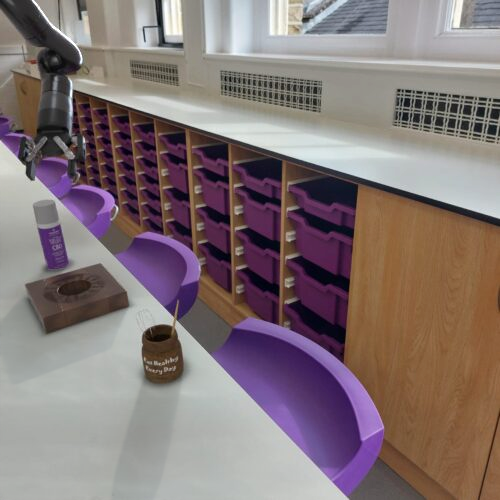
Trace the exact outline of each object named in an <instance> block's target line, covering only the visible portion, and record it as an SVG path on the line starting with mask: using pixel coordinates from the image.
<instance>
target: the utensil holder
mask: <svg viewBox="0 0 500 500" xmlns="http://www.w3.org/2000/svg"><path fill="white" fill-rule="evenodd" d="M179 303H180V300H179V299H177V302H176V307H175V312H174V317H173V322H172V325H171V324H164V323H161V324H156V322H155V321H154V317H153V315H152V314H151V312H150V311H148V309H147V308H146V309H145V308H143V309H139V310H138V313H136V314H135V316H136V318H135V320H136V323H137V325H138V327H139V329H140V331H141V332H142V334H141V335H142V336H141V343H142V345H141V359H142V365H143V370H144V374H145V377H146V379H148V381H150V382H152V383H155V384H166V383H171V382H173V381H175V380H177V379H178V378H180V376H182V375H183V372H184V370H185V369H184V367H185V365H184V364H185V363H184V355H183V348H182V342H181V341H180V339H179V334H178V331H177V329H176V324H177V316H178V311H179V310H178V309H179ZM147 311H148V313H149V314H150V317H151V319H152V320H151V321H153V322H152V323H151V322H150V321H149V320H150V319H149V316H148V315H147V314H146V312H147ZM142 312H143V313H144V315H145V316H146V319H147V322H148V326H149V327H148V328H147V329H146V325H145V323H144V320H143V319H142V318H143V314H141V313H142ZM140 314H141V315H140ZM139 319H140V321H141V324H142V326H143V327H144V331H143V329H142V328H141V326H140V322H139V321H138V320H139ZM152 324H153V325H152Z"/></svg>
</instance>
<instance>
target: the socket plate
mask: <svg viewBox="0 0 500 500" xmlns="http://www.w3.org/2000/svg"><path fill="white" fill-rule="evenodd" d="M24 287H25V291H26V294H27V298H28V300H29V302H30V304H31V306H32V308H33V310H34V312H35V314H36V317H37V318H38V320H39V322H40V324H41V326H42V328H43V330H44V332H45V334H47V335H48V334H51V333H54V332H56V331H60V330H63V329H67V328H68V327H71V326H75V325H77V324H81V323H83V322H87V321H90V320H92V319H95V318H99V317H101V316H104V315H107V314H111V313H114V312H116V311H120V310H122V309H126V308H128V307H130V302H129V296H128V291H127V290H126V289H125V287H124V286H122V284H121V283H120V282H119V281H118V280H117V279H116V278H115V277H114V275H113V274H111V272H110V271H109V270H108V269H107V268H106V267H105V266H104V264H103V263H102V262H99V263H95V264H92V265H89V266H85V267H81V268H78V269H74V270H70V271H67V272H63V273H59V274H57V275H52V276H49V277H45V278H42V279H38V280H34V281H31V282H27V283H25V284H24Z"/></svg>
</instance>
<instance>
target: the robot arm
mask: <svg viewBox="0 0 500 500" xmlns="http://www.w3.org/2000/svg"><path fill="white" fill-rule="evenodd" d="M0 11H1V12H2V14H3V15H4V16H5V17H6V19H7V20H8V21H9V22H10V24H11V25H12V26H13V27H14V29H16V31H17V32H18V33H19V34H20V36H21V37H22V38H23V39H24V41H25V42H26V43H27V44H28V45H30V46H31V47H33V48H40V50H38V52H37V54H36V56H35V57H36V58H35V62H36V66H37V71H38V74H39V78H40V82H41V83H40V84H41V87H40V99H39V102H38V109H37V120H36V135H35V136H34V138H27V136H25V135H23V136H21V138H20V142H19V147H18V153H17V159H18V160H19V161H20V163H21V164H22V165H23V166H25V173H24V174H25V176H26V177H27V179H29V181H30V182H34V181H35V180H36V173H37V172H36V171H37V165H38V163H39V162H41V161H43V160H44V159H45V158H46V157H47V158H51V157H62V155H64V156H65V157H66V158H67V159H68V160H67V169H66V171H67V172H66V175H67V177H68V178H69V180H70V179H71V180H73V179H74V178H75V177H76V175H77V169H78V163H81V162H82V163H84V162H86V161H87V144H86V142H87V141H86V139H85V137H84V135H83V133H78V134H77V135H76V136H75V135H73V136H72V134H73V120H74V107H73V102H74V101H73V98H74V83H73V81H72V80H71V78H70V77H68V76H67V75H69V74H72V73H76V72H78V71H80V70H81V69H82V67H83V63H84V60H83V54H82V52H81V50H80V49H79V47H78V46H77V45H76V44H75V43H74V42H73V41H72V39H70V38H69V37H68V36H66V35H65V34H64V33H63V32H61V31H60V29H58V28H57V27H55V25H53V23H51V21H50V20H49V19H48V18H47V16H46V15H45V13H44V12H43V10H42V9H41V8H40V6H39V5H38V4H37V2H36V1H35V0H0ZM73 144H74V145H76V149H77V150H76V152H77V153H75V154H74V153H73V152H72V151H71V149H70V147H72V145H73ZM34 145H35V146H34ZM33 146H34V147H33Z"/></svg>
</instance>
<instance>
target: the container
mask: <svg viewBox="0 0 500 500" xmlns="http://www.w3.org/2000/svg"><path fill="white" fill-rule="evenodd" d="M32 209H33V213H34V218H35V222H36V223H35V224H36V229H37V233H38V236H39V241H40V244H41V249H42V252H43V257H44V261H45V265H46V269H47V270H48V271H52V272H53V271H54V272H55V271H56V272H57V271H61V270H63V269H66V268H67V267H69V265H70V262H69V258H68V252H67V247H66V241H65V238H64V234H63V229H62V224H61V220H60V216H59V212H58V208H57V204H56V200H54V199H42V200H38V201H35V202H32Z"/></svg>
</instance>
